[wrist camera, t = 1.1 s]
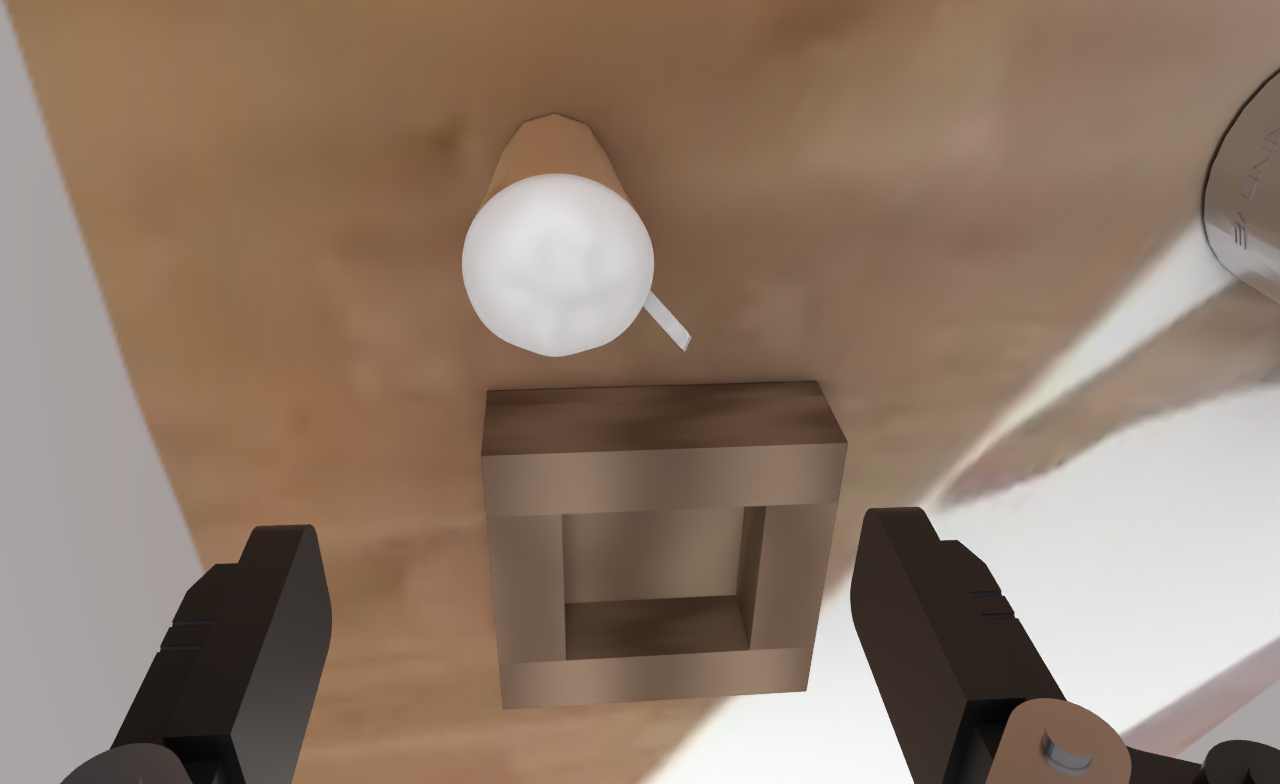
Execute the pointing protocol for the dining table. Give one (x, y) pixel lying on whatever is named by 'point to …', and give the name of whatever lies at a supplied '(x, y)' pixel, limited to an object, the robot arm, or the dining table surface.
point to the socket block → (658, 539)
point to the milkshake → (560, 246)
